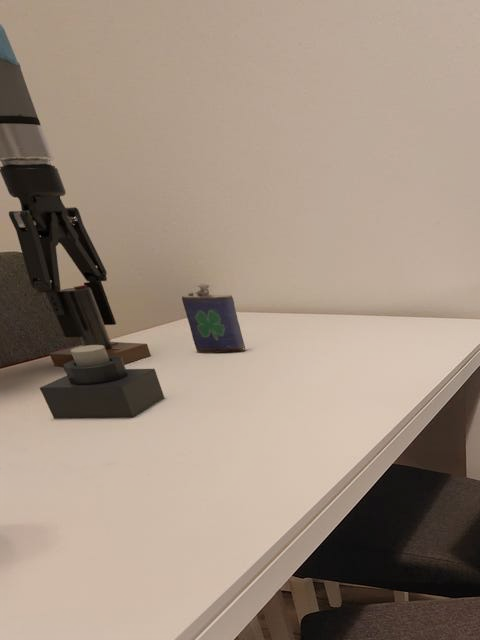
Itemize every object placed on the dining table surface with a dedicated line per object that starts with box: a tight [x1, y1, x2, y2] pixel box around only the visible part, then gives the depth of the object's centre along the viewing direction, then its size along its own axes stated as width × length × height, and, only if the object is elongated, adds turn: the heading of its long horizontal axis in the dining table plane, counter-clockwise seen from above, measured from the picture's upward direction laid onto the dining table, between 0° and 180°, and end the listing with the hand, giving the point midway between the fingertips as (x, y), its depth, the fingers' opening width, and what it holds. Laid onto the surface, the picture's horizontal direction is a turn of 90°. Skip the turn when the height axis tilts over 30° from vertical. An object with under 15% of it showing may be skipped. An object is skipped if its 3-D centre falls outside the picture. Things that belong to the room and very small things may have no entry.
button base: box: [39, 356, 165, 420], centre depth 80 cm, size 11×9×6 cm
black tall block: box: [61, 284, 113, 349], centre depth 100 cm, size 4×4×9 cm
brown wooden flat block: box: [49, 341, 152, 367], centre depth 104 cm, size 12×10×2 cm
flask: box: [181, 283, 246, 354], centre depth 105 cm, size 9×3×11 cm, turn 85°
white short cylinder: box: [71, 345, 110, 366], centre depth 77 cm, size 4×4×2 cm
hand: (91, 330), depth 101 cm, fingers open, 9 cm apart
